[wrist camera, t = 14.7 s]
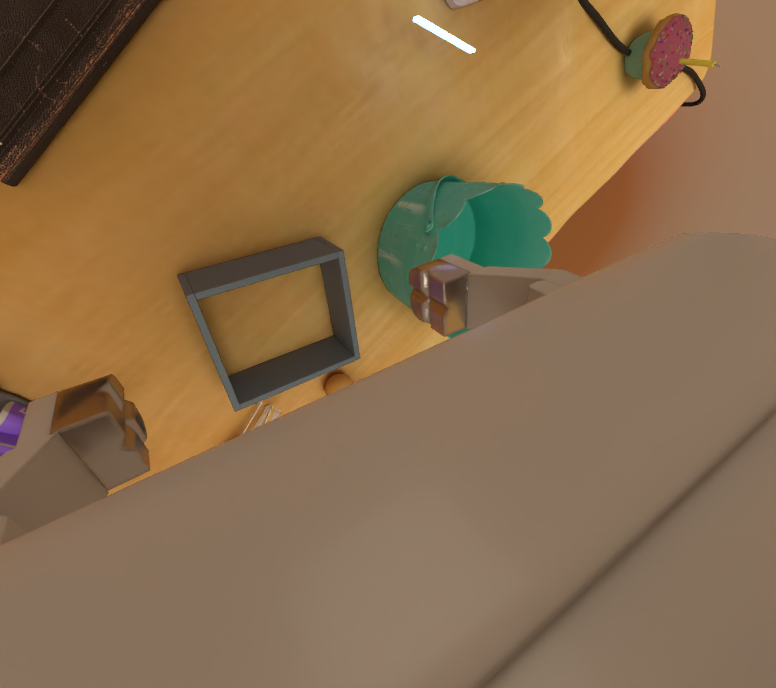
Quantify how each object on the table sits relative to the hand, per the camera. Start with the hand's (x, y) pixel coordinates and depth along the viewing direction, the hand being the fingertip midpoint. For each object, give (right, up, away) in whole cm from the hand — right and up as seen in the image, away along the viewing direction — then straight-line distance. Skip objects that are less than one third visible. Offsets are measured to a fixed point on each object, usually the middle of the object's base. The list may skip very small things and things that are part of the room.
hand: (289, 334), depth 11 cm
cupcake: (+40, +43, +47) cm, 75 cm away
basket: (+8, +13, +42) cm, 45 cm away
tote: (-11, +4, +34) cm, 36 cm away
